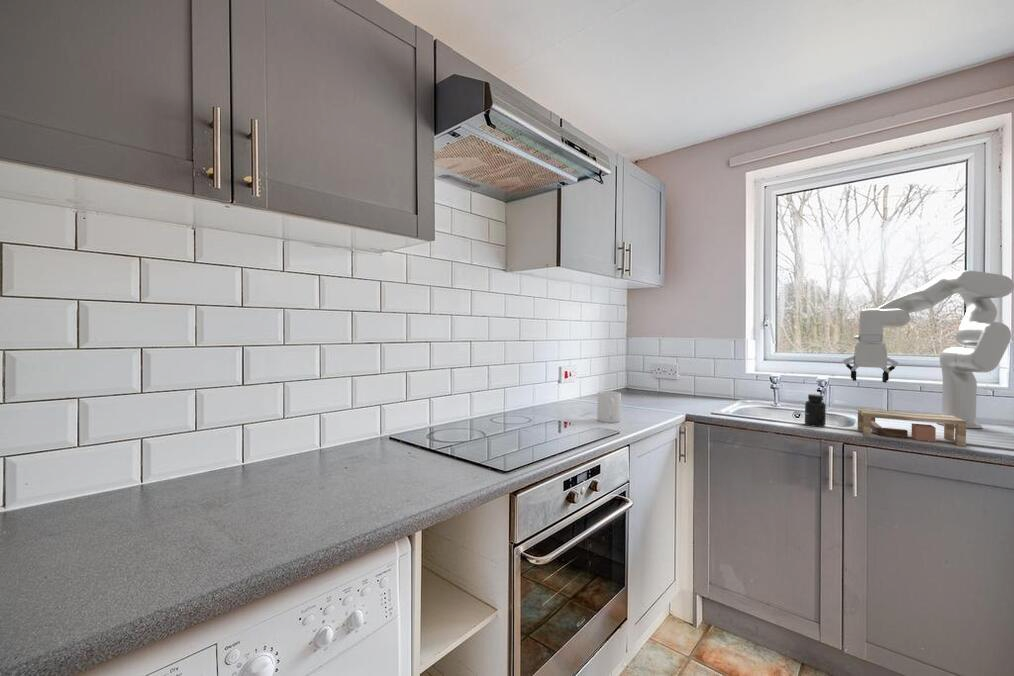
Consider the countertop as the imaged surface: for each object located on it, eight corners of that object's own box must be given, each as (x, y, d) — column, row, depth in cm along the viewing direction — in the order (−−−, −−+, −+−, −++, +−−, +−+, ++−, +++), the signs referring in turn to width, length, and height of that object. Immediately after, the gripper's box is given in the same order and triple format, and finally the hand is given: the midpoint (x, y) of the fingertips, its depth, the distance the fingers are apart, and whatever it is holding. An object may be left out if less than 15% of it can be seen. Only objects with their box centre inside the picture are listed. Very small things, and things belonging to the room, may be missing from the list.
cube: (911, 437, 154) (911, 423, 154) (930, 439, 152) (930, 424, 152) (915, 440, 150) (915, 425, 150) (935, 442, 147) (935, 427, 147)
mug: (614, 418, 185) (614, 390, 185) (628, 424, 173) (628, 394, 173) (593, 419, 183) (593, 391, 182) (606, 425, 171) (606, 395, 171)
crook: (860, 422, 180) (860, 407, 180) (888, 424, 176) (889, 409, 176) (874, 434, 158) (874, 418, 158) (907, 437, 153) (907, 420, 153)
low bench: (857, 430, 165) (857, 408, 165) (951, 438, 152) (952, 415, 152) (863, 436, 155) (864, 413, 154) (965, 446, 141) (966, 421, 141)
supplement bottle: (800, 423, 176) (801, 394, 176) (811, 422, 179) (811, 393, 179) (818, 427, 170) (819, 396, 169) (829, 425, 172) (829, 395, 172)
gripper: (845, 338, 177) (844, 380, 177) (901, 340, 169) (899, 384, 169) (842, 338, 184) (840, 379, 184) (895, 340, 175) (894, 382, 176)
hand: (869, 381), depth 177 cm, fingers open, 9 cm apart
